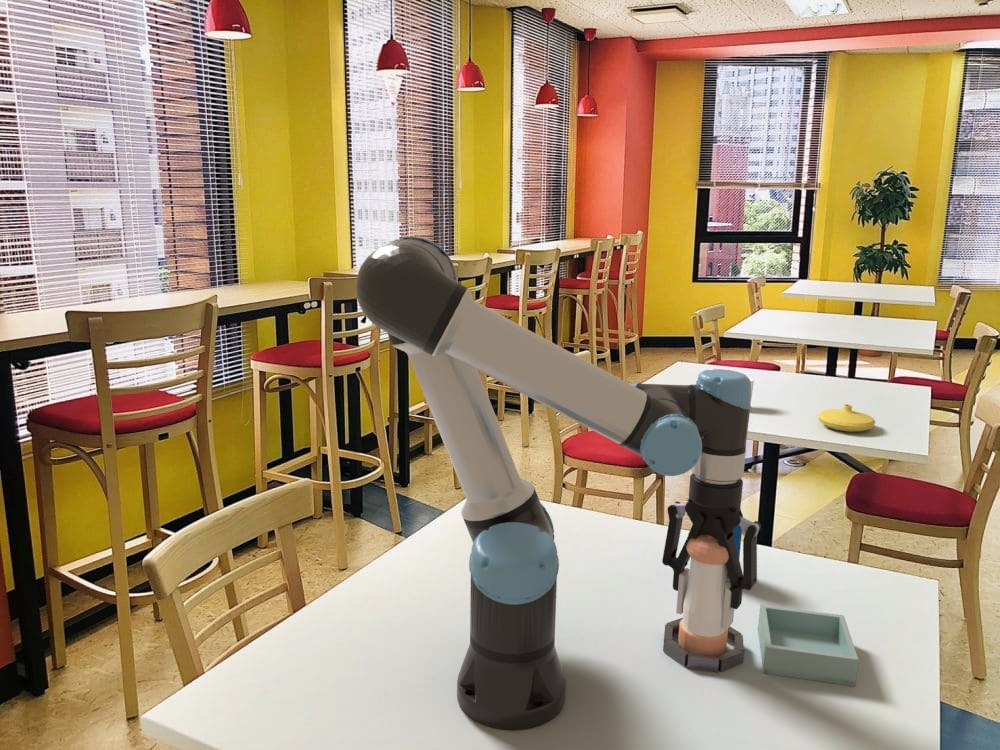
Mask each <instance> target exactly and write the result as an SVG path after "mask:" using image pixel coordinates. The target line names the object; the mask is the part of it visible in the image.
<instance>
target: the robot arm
mask: <svg viewBox="0 0 1000 750" xmlns="http://www.w3.org/2000/svg"><path fill="white" fill-rule="evenodd" d="M355 283H356V284H355V291H356V293H355V294H356V298H357V302H358V305H359V307H360V309H361V311H362V313H363V314H364V315H365V316H366V319H368V320H369V321H370V322H371V323H372V324H373V325H375V326H376V327H377V328H378V329H380V330H381V331H384V332H385V333H387V336H388V338H389V339H388V340H390V344H391V345H392V347H393V348H395V349H398V350H400V351H402V352H404V353H405V354H407V357H408V358H409V362H410V364H411V366H412V369H413V371H414V374H415V376H416V379H417V381H418V383H419V384H418V385H419V386H420V389H421V391H422V393H423V396H424V398H425V401H426V402H427V403H426V404H427V406H428V408H429V410H430V411H429V412H430V413H431V415H432V418H433V420H434V421H433V422H434V423H435V425H436V428H437V430H438V432H439V435H440V437H441V439H442V442H443V445H444V447H445V450H446V453H447V455H448V457H449V460H450V462H451V465H452V467H453V469H454V472H455V474H456V477H457V479H458V483H459V484H460V487H461V489H462V491H463V494H464V497H465V499H466V500H465V503H464V505H463V506H462V508H461V516H462V519H463V521H464V523H465V526H466V529H467V531H468V534H469V537H470V538H471V542H472V546H471V551H470V555H469V561H468V562H469V563H468V565H469V567H468V568H469V569H468V570H469V573H470V604H469V605H470V607H469V608H470V609H469V611H470V613H469V614H470V615H469V616H470V617H469V618H470V620H469V632H470V633H469V645H468V648H467V651H466V653H465V656H464V658H463V662H462V664H461V666H460V671H459V672H458V676H457V680H456V699H457V702H458V704H459V707H460V708H461V710H462V711H463V712H464V713H465V714H466V715H468V717H469V718H471V719H472V720H474V721H476V722H478V723H480V724H482V725H485V726H488V727H491V728H496V729H501V730H523V729H530V728H534V727H538V726H540V725H543V724H546V723H548V722H549V721H551V720H552V719H554V718H555V717H556V716H558V714H560V713H561V711H562V710H563V708H564V705H565V703H566V694H567V693H566V691H567V689H566V688H567V685H566V683H567V682H566V678H565V674H564V671H563V668H562V664H561V662H560V659H559V658H560V657H559V655H558V652H557V649H556V647H555V646H556V645H555V644H556V641H555V640H556V638H555V637H556V636H555V635H556V619H557V618H556V617H557V615H556V614H557V611H556V609H557V587H558V586H557V585H558V583H557V581H558V574H559V569H560V563H559V555H558V549H557V545H556V542H555V529H554V524H553V520H552V518H551V516H550V514H549V513H548V510H547V508H546V507H545V506H544V505H543V504H542V503H541V501H540V498H539V496H538V493H537V491H536V488H535V486H534V484H533V483H532V482H531V481H528V480H526V479H523V478H521V477H520V474H519V472H518V470H517V467H516V465H515V463H514V459H513V457H512V453H511V451H510V449H509V446H508V443H507V442H506V439H505V436H504V434H503V431H502V428H501V426H500V424H499V420H498V418H497V416H496V413H495V411H494V408H493V405H492V403H491V400H490V398H489V395H488V393H487V389H486V388H485V385H484V383H483V380H482V377H481V375H480V373H482V374H484V375H487V376H488V377H490V378H492V379H494V380H495V381H498V382H500V383H502V384H503V385H505V386H507V387H509V388H511V389H513V390H515V391H517V392H519V393H521V394H522V395H525V396H526V397H528V398H530V399H532V400H534V401H536V402H538V403H540V404H541V405H544V406H545V407H547V408H549V409H551V410H553V411H555V412H557V413H559V414H561V415H563V416H564V417H567V418H568V419H570V420H572V421H575V422H576V423H578V424H579V425H581V426H584V427H586V428H588V429H589V430H591V431H593V432H595V433H597V434H599V435H601V436H603V437H605V438H606V439H609V440H611V441H612V442H614V443H617V444H618V445H620V446H621V447H623V448H625V449H627V450H628V451H630V452H633V453H634V454H635V455H639V456H640V457H641V458H642V460H643V462H644V463H645V464H646V465H647V466H648V467H649V468H650V469H651V470H652V471H654V472H656V473H657V474H659V475H662V476H665V477H675V476H681V475H684V474H685V473H687V472H690V471H691V474H690V478H689V485H688V486H689V488H688V500H687V502H686V503H682V502H680V501H678V500H675V501H674V502H673V503H671V504H670V505H669V506H668V507H667V515H668V526H667V531H666V536H665V537H666V538H665V542H664V550H663V555H662V564H663V565H664V566H665V567H666V566H669V567H670V568H671V569H672V571H673V577H672V578H673V579H672V589H673V590H674V591H677V598H676V599H677V600H676V614H678V615H683V602H684V598H685V594H686V590H687V586H688V582H689V575H690V568H687V566H688V564H689V563H688V562H689V561H690V560H691V557H690V555H689V554H688V552H687V548H686V546H687V543H688V541H689V540H690V539H691V538H694V539H696V538H697V536H698V535H700V534H702V535H710V536H712V537H713V538H716V539H718V543H719V546H723V547H725V548H726V550H727V552H728V555H729V559H728V561H727V562H726V563H725V564H726V568H727V572H728V576H729V584H728V585H727V586H726V589H725V600H724V611H723V622H722V628H723V629H726V630H727V629H728V628H729V627H731V625H732V624H733V623H734V618H735V610H738V608H739V607H740V606H741V605H742V600H743V591H744V590H747V591H750V590H752V589H753V587H754V586H755V585H756V583H757V582H758V546H757V545H758V541H757V540H758V538H757V537H758V535H759V532H760V530H761V526H762V524H761V522H760V521H758V520H755V521H751V520H749V519H746V518H745V517H744V515H743V512H742V508H741V507H742V506H741V505H742V497H743V495H742V494H743V485H744V482H743V479H742V478H744V473H745V464H746V463H745V462H746V455H747V450H746V448H747V438H748V431H749V424H750V423H749V421H750V414H751V409H752V406H751V405H752V404H751V402H752V398H751V382H750V379H749V378H748V377H749V376H747V375H746V374H744V373H743V372H739V371H736V370H732V369H731V370H730V369H721V368H720V369H719V368H718V369H717V368H714V369H704V370H702V371H700V373H699V374H698V375H697V380H696V382H695V384H663V383H661V384H659V383H658V384H657V383H641V382H635V383H628V382H627V381H626V380H623V379H621V378H619V377H618V376H615V375H614V374H612V373H610V372H608V371H606V370H604V369H602V368H601V367H598V366H597V365H595V364H593V363H591V362H589V361H587V360H585V358H582V357H580V356H578V355H577V354H575V353H572V352H571V351H568V350H567V349H565V348H563V347H561V346H560V345H558V344H556V343H554V342H553V341H550V340H548V339H547V338H545V337H542V336H541V335H539V334H537V333H535V332H533V331H531V330H529V329H528V328H526V327H524V326H522V325H520V324H518V323H517V322H515V321H513V320H511V319H509V318H507V317H505V316H503V315H502V314H500V313H498V312H496V311H494V310H492V309H490V308H488V306H485V305H483V304H481V303H479V302H477V301H475V300H474V297H473V294H472V292H471V289H470V288H468V287H466V286H464V285H463V284H461V283H459V282H457V275H456V269H455V266H454V263H453V261H452V259H451V257H450V256H449V255H448V254H447V252H446V251H445V250H444V249H443V248H442V247H441V246H440V245H438V244H436V243H435V242H433V241H432V240H430V239H427V238H423V237H417V236H405V237H403V238H398V239H395V240H393V241H391V242H389V243H386V244H385V245H383V246H380V247H379V248H377V249H375V250H374V251H373V252H372V253H370V254H369V255H368V256H367V257H366V259H365V260H364V261H363V262H362V264H361V266H360V268H359V270H358V273H357V276H356V281H355ZM686 514H687V516H688V518H689V519H690V522H691V524H692V525H691V527H690V530H689V532H688V534H687V535H688V536H687V538H686V540H685V542H684V543H683V546H682V548H681V550H680V552H679V554H678V557H677V553H678V548H679V547H678V546H679V542H680V535H681V533H682V531H681V530H682V527H683V519H684V517H685V515H686ZM738 525H739V526H740V527H741V528H742V536H743V541H742V556H743V557H742V564H743V565H742V564H741V561H740V557H738V553H737V549H736V545H735V535H734V531H733V530H734V529H735V528H736V527H737V526H738Z"/></svg>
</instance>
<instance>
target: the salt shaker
mask: <svg viewBox="0 0 1000 750" xmlns="http://www.w3.org/2000/svg"><path fill="white" fill-rule="evenodd" d="M686 548H687V552H688V554H689V555H690V565H689V569H690V575H689V582H688V586H687V590H686V594H685V598H684V602H683V613H682V618H683V619H682V620H681V621H680V625H679V635H678V638H677V639H678V640H677V641H678V642H677V643H678V644H679V645H681V646H682V647H684V648H685V649H687V650H688V651H690V652H694V653H701V654H708V655H715V656H718V655H720V654H723V653H725V652H727V644H728V642H727V636H728V629H727V630H726V629H723V628H722V622H723V611H724V600H725V589H726V588H727V581H726V580H727V568H726V564H725V563H726V562H727V561H728V559H729V555H728V552H727V550H726V548H725V547H723V546H719V543H718V539H716V538H713V537H712V536H710V535H702V534H700V535H698V536H697V538H696V539H694V538H691V539H690V540H689V541H688V543H687V546H686Z"/></svg>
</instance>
